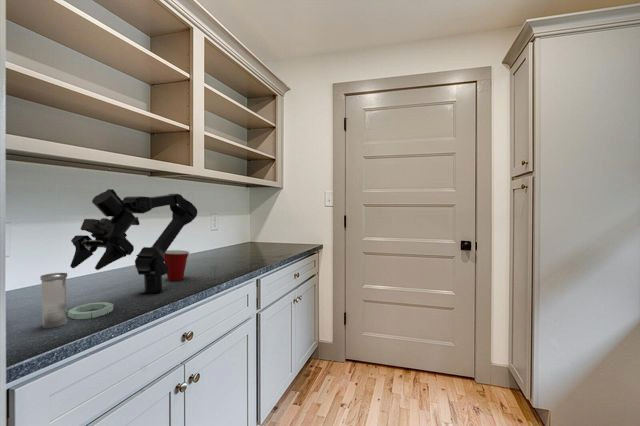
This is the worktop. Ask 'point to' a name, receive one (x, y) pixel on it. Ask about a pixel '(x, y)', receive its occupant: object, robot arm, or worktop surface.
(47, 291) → the glass jar
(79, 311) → the collar ring
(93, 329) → the worktop surface
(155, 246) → the robot arm
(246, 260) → the worktop surface
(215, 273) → the worktop surface
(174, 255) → the plastic cup
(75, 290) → the worktop surface
